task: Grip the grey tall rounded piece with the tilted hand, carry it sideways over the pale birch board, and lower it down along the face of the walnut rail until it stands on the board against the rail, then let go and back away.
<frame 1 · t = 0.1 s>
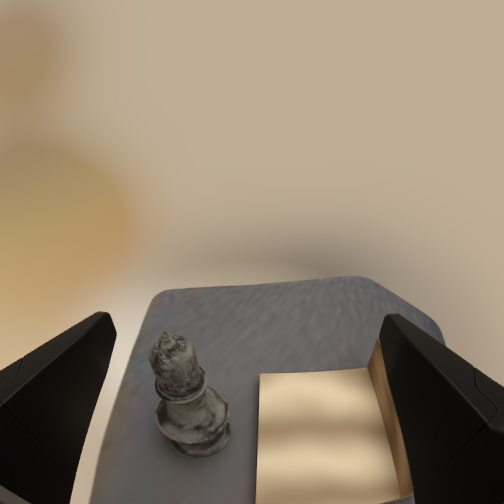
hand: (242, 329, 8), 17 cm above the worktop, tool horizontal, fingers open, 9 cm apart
grey tall rounded piece: (199, 432, 20), on the worktop
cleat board: (331, 440, 19), on the worktop
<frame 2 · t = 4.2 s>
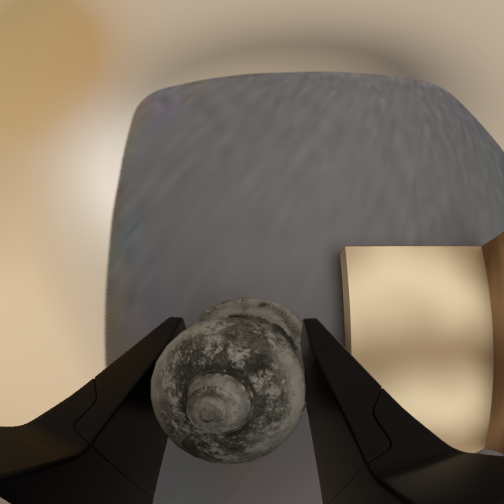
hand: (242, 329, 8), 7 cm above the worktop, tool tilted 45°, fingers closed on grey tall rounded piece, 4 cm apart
grey tall rounded piece: (252, 362, 14), on the worktop, touching gripper
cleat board: (435, 363, 13), on the worktop
when the fingers open (8 cm above the worktop, at t = 8.4 s): grey tall rounded piece stays where it is, resting on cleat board.
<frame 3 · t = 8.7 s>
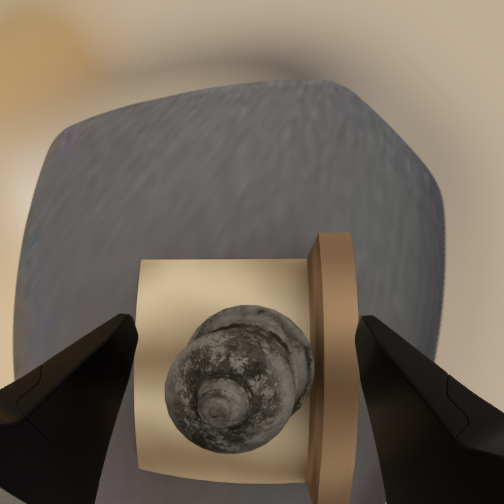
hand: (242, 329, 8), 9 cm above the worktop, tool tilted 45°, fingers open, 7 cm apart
grey tall rounded piece: (251, 364, 15), point 1 cm above the worktop, touching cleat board
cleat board: (233, 376, 16), on the worktop
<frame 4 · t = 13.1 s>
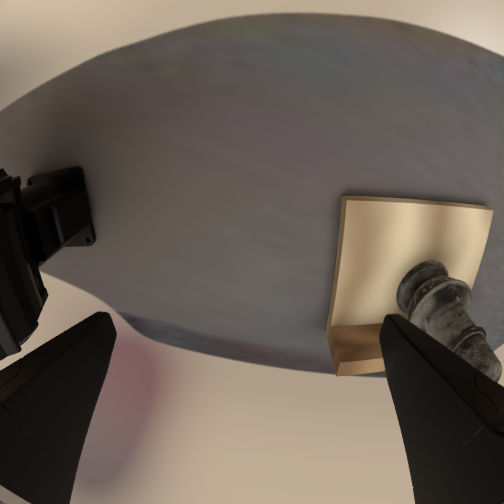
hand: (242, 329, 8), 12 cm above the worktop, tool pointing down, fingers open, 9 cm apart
grey tall rounded piece: (422, 287, 20), point 1 cm above the worktop, touching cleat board
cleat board: (412, 270, 21), on the worktop
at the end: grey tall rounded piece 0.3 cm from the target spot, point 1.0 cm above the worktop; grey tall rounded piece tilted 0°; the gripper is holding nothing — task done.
